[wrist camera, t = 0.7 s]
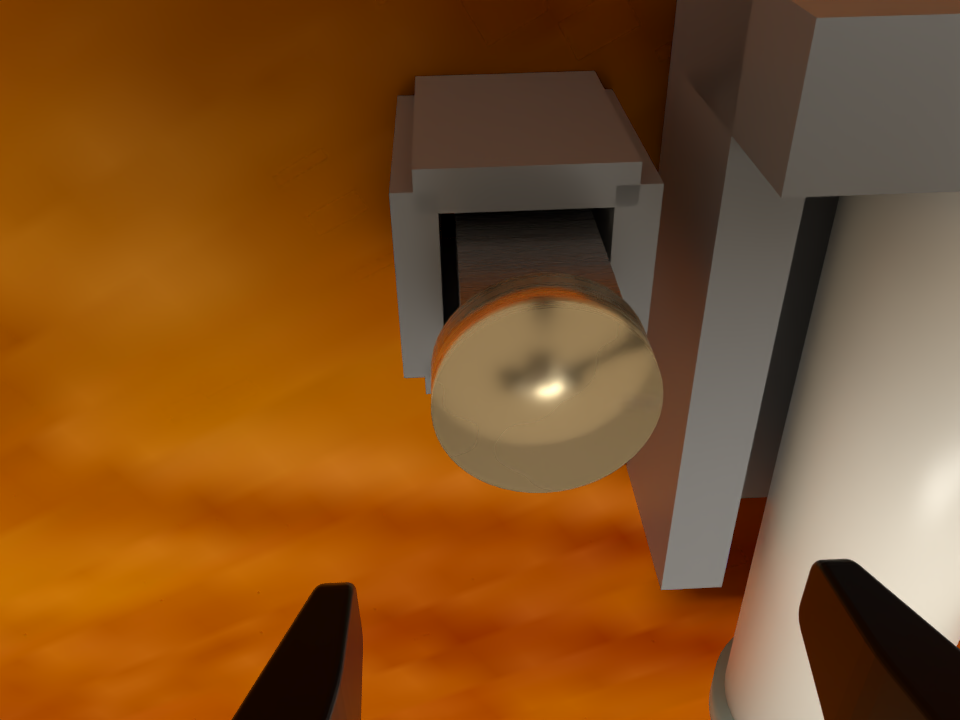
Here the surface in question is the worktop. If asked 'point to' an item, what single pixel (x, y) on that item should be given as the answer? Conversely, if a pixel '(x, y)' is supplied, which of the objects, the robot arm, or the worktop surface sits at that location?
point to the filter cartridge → (861, 447)
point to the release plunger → (540, 355)
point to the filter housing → (693, 214)
